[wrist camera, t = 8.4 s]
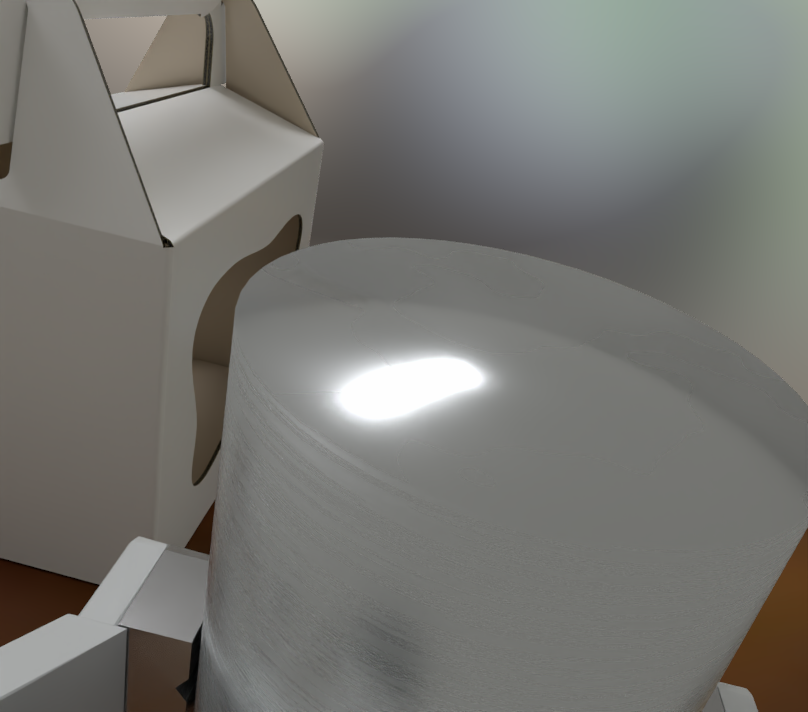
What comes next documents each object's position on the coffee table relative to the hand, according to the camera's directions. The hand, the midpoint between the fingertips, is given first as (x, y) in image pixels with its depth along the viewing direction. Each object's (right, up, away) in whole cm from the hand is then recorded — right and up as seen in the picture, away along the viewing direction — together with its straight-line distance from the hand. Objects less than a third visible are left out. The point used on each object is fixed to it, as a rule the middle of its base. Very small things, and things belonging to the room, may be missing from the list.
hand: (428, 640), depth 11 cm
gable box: (-17, -1, +33) cm, 37 cm away
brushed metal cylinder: (-1, -6, +2) cm, 7 cm away
